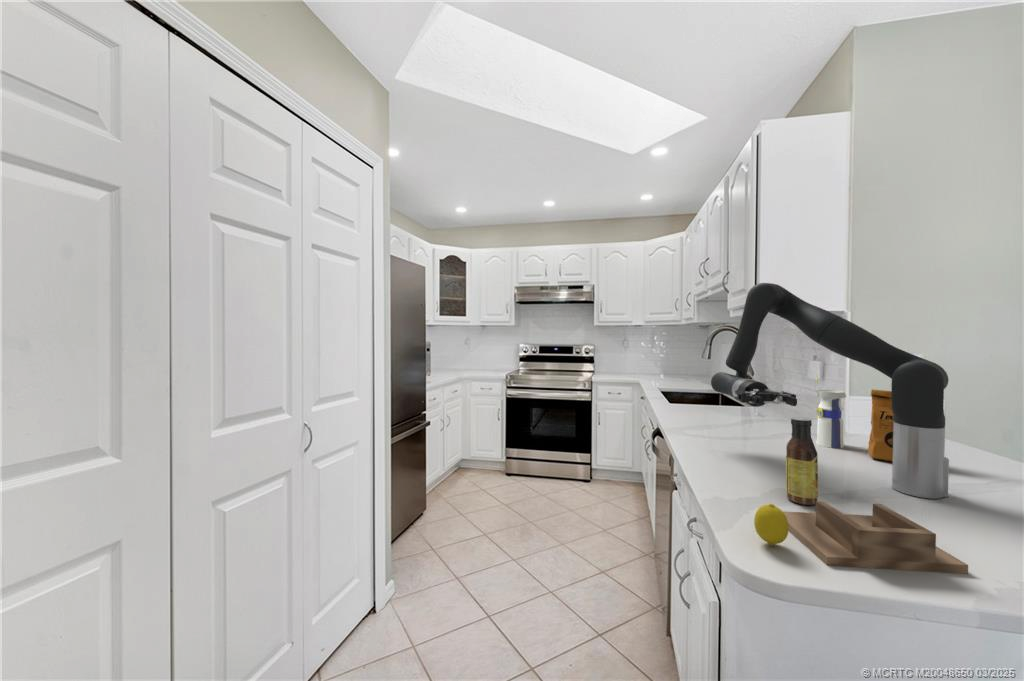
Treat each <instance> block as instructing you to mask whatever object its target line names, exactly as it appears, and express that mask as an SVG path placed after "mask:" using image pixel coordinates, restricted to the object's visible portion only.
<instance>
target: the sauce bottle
mask: <svg viewBox="0 0 1024 681" xmlns="http://www.w3.org/2000/svg"><path fill="white" fill-rule="evenodd" d="M790 423H791V438H790V439H789V440H788V442H787V443H786V449H785V450H786V456H785V484H786V485H785V492H786V497H787V499H788V500H789V501H791V502H792V501H793V502H792V503H794V502H795V504H797V503H798V504H797V505H801V504H802V505H803V506H816V501H818V497H819V483H818V482H819V476H818V475H819V473H818V472H819V470H818V469H819V465H818V464H819V458H818V456H819V455H818V451H817V449H816V446H815V444H814V440H813V438H812V432H811V430H812V428H811V427H812V424H813V423H812V419H810V418H806V417H797V416H796V417H791V418H790Z"/></svg>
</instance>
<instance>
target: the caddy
mask: <svg viewBox="0 0 1024 681" xmlns="http://www.w3.org/2000/svg"><path fill="white" fill-rule="evenodd" d="M782 511H783V510H782ZM783 513H784V514H785V516H786V518H787V521H788V533H790V534H792V536H794V537H795V538H796V539H797V540H798V541H799V542H800V543H802V544H803V545H804V546H805V547H806V548H807V549H808V550H809V551H810V552H811V553H813V554H814V555H815V556H816V557H817V558H818V559H819V560H821V561H822V562H823V563H824V564H825V565H826V566H833V567H834V566H836V567H837V566H838V567H850V568H851V567H852V568H853V567H854V568H855V567H856V568H866V569H867V568H868V569H869V568H870V569H883V570H885V569H887V570H901V571H904V570H905V571H917V572H918V571H920V572H933V573H947V574H949V573H950V574H952V573H953V574H965V575H966V574H967V575H968V574H969V564H967V563H966V562H964V561H962V560H961V559H959V558H958V557H955V556H954V555H952V554H951V553H948V552H946V550H944V549H942V548H940V547H938V546H937V542H936V541H937V534H936V533H934V532H933V531H931V530H929V529H927V528H926V527H924V526H922V525H920V524H918V523H916V522H914V521H913V520H911V519H909V518H907V517H906V516H903V515H902V514H900V513H898V512H897V511H895V510H893V509H891V508H889V507H887V506H885V505H884V504H882V503H872V515H869V514H868V515H867V514H866V515H865V514H846V513H842V512H840V511H839V510H837V509H836V508H834V507H833V506H831V505H830V504H829V503H827V502H826V501H822V500H817V501H816V504H815V512H808V511H807V512H804V511H803V512H802V511H800V512H799V511H786V510H785V511H783Z"/></svg>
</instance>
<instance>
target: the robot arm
mask: <svg viewBox="0 0 1024 681" xmlns="http://www.w3.org/2000/svg"><path fill="white" fill-rule="evenodd" d="M769 313H770V314H772V315H775V316H778V317H779V318H783V319H784V320H787V321H788V322H790V323H791V324H793V325H794V326H796V327H797V328H798V329H799V330H800V331H801V332H802V333H803V334H804V335H805V336H806V337H808V338H809V339H811V340H812V341H813V342H815V343H816V344H817V345H820V346H822V347H824V348H826V349H827V350H829V351H831V352H832V353H835V354H837V355H840V356H842V357H845V358H847V359H849V360H852V361H855V362H858V363H861V364H864V365H866V366H868V367H871V368H873V369H875V370H876V371H878V372H880V373H882V374H883V375H884V376H887V377H888V378H890V379H891V391H892V412H893V421H894V422H893V462H891V463H892V468H891V469H892V471H891V475H892V476H891V487H892V489H893V490H895V491H897V492H899V493H903V494H904V495H905V494H906V495H909V496H912V497H913V496H914V497H918V498H923V499H931V500H932V499H934V500H936V499H937V500H938V499H943V498H948V497H949V477H950V476H949V472H950V470H949V469H950V460H949V458H948V457H945V444H946V442H945V441H946V415H945V410H944V406H945V405H944V401H945V400H944V398H945V395H944V394H945V389H946V388H947V387H948V385H949V376H948V373H947V371H946V369H945V368H943V367H942V366H941V365H940V364H937V363H935V362H934V361H930V360H928V359H925V358H923V357H920V356H918V355H915V354H912V353H910V352H907V351H905V350H902V349H900V348H899V347H896V346H894V345H892V344H890V343H888V342H887V341H885V340H883V339H882V338H881V337H879V336H877V335H875V334H873V333H872V332H870V331H868V330H867V329H865V328H864V327H861V326H859V325H857V324H856V323H854V322H851V321H850V320H848V319H846V318H844V317H842V316H840V315H838V314H835V313H833V312H832V311H828V310H827V309H824V308H821V307H819V306H817V305H813V304H811V303H809V302H807V301H805V300H803V299H802V298H800V297H798V296H797V295H795V294H794V293H792V292H790V291H789V290H788V289H786V288H785V287H783V286H782V285H780V284H776V283H769V282H760V283H757V284H755V285H753V286H752V287H751V288H750V289H749V291H748V292H747V295H746V299H745V303H744V307H743V312H742V316H741V319H740V324H739V326H738V329H737V330H738V331H737V333H736V336H735V338H734V340H733V343H732V345H731V348H730V350H729V352H728V355H727V357H726V360H725V365H726V367H728V368H730V369H731V370H733V371H735V375H734V374H732V373H731V374H730V373H727V372H724V371H721V372H717V373H714V375H713V376H712V377H711V379H710V380H711V381H710V386H711V388H712V390H713V391H715V392H717V393H720V394H723V395H724V394H725V395H728V396H730V397H732V398H734V399H735V400H736V401H738V402H740V403H743V404H746V405H749V406H751V407H754V408H755V407H756V408H758V407H762V406H764V405H766V404H773V405H774V404H775V405H782V404H785V405H787V406H788V405H789V406H791V407H796V406H797V405H798V399H797V394H796V393H790V392H787V391H783V390H782V391H777V390H772V389H770V388H769V387H768V386H767V384H765V383H763V382H761V381H757V380H754V379H749V378H747V377H748V371H749V367H750V365H751V363H752V360H753V358H754V356H755V354H756V351H757V348H758V343H759V334H760V330H761V327H762V324H763V322H764V320H765V319H766V316H767V315H768V314H769Z"/></svg>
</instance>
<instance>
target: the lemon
mask: <svg viewBox="0 0 1024 681" xmlns="http://www.w3.org/2000/svg"><path fill="white" fill-rule="evenodd" d="M753 521H754V523H753V524H754V528H755V532H756V534H757V535H758V536H759V538H760V539H761V540H763V541H764V542H766V543H767V545H769V546H774V545H777V544H781V543H783V542H784V541H785V540H786V539H787V537H788V535H789V531H788V521H787V518H786V516H785V514H784V513H783V510H782V509H780V508H779V507H777V506H776V505H774V504H773V503H768V504H764V505H761V506H760V507H758V509H757V510H756V511H755V514H754V520H753Z"/></svg>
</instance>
